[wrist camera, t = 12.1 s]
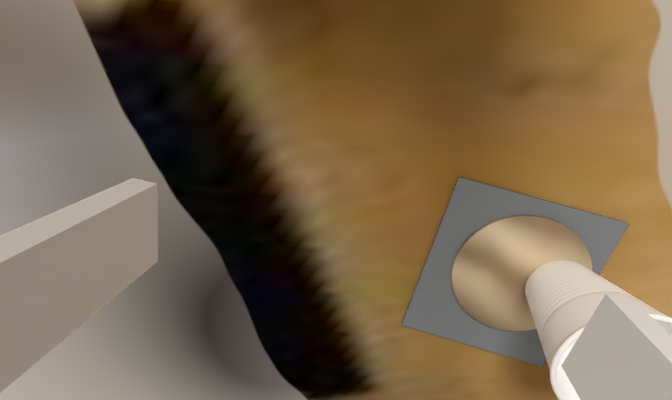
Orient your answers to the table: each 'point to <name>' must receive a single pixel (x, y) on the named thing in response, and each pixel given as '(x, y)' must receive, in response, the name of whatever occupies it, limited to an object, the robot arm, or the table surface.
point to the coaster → (510, 267)
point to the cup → (570, 312)
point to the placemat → (456, 226)
